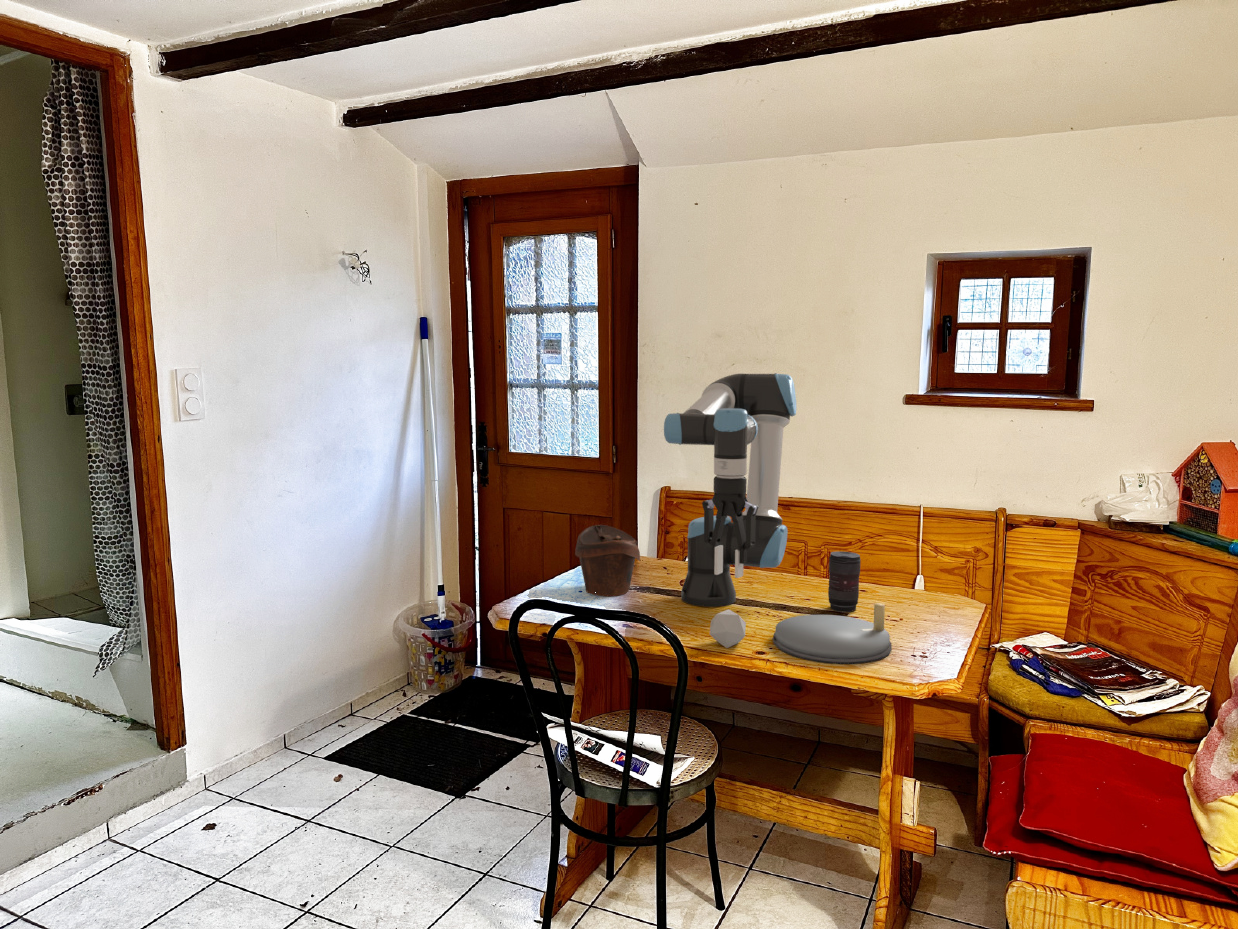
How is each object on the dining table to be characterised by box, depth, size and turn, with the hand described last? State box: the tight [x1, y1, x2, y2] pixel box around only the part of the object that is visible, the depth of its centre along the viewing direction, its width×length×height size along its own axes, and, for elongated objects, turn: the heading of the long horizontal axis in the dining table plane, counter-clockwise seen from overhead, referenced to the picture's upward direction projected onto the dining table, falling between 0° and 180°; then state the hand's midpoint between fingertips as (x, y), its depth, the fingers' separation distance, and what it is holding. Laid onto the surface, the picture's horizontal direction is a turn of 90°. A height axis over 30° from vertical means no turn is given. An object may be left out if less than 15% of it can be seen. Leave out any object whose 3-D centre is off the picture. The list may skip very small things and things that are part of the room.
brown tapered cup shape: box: [574, 524, 641, 597], centre depth 245 cm, size 18×20×18 cm
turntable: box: [774, 602, 891, 659], centre depth 200 cm, size 26×26×8 cm
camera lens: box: [827, 550, 862, 613], centre depth 228 cm, size 8×8×15 cm
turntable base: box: [772, 632, 893, 665], centre depth 201 cm, size 27×27×1 cm
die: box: [709, 609, 747, 649], centre depth 200 cm, size 8×9×10 cm
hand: (728, 574), depth 199 cm, fingers open, 5 cm apart
